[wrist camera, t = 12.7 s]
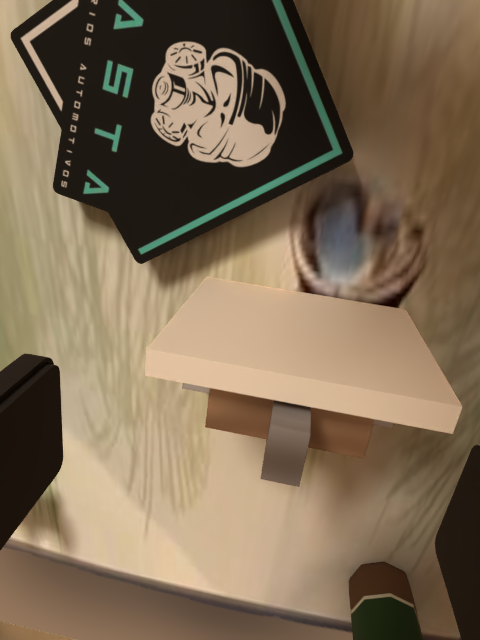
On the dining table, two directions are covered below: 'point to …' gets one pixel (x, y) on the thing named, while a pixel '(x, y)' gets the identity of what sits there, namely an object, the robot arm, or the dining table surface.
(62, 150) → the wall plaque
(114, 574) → the dining table surface
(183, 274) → the dining table surface
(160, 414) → the dining table surface
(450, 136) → the dining table surface
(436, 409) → the wall board
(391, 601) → the beer bottle
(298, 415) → the walnut cabinet
